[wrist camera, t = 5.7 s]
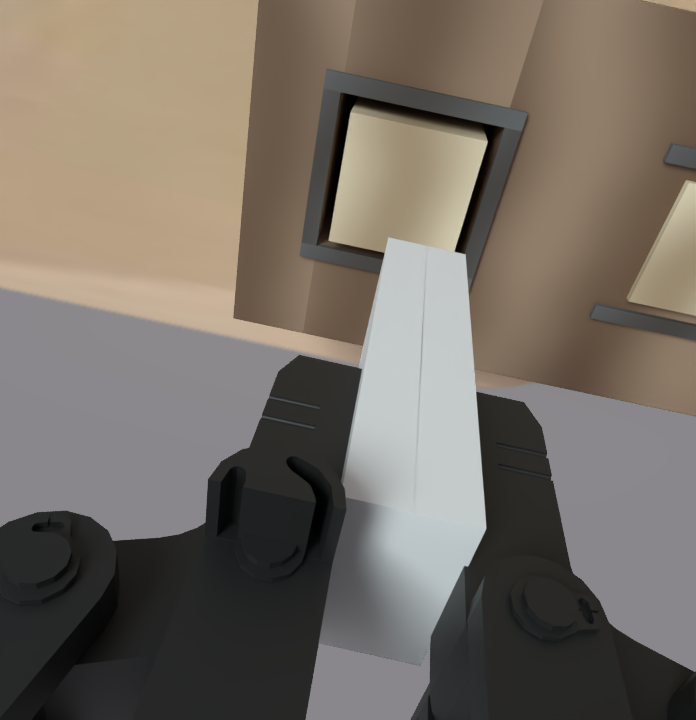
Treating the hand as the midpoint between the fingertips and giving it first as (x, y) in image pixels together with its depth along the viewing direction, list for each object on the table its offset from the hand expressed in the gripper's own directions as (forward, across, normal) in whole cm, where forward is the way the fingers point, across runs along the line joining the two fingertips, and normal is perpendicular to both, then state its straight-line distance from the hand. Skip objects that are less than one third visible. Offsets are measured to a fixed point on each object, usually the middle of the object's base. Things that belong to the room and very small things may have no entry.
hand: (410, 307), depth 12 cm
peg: (+15, -1, 0) cm, 15 cm away
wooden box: (+17, +4, 0) cm, 18 cm away
